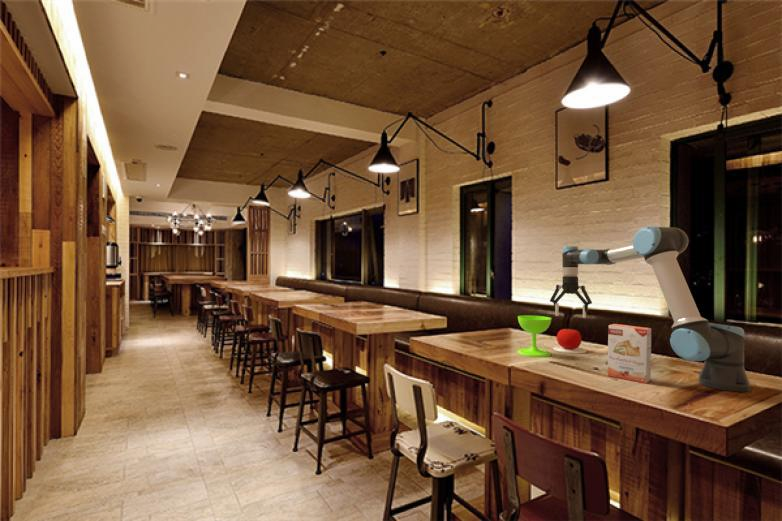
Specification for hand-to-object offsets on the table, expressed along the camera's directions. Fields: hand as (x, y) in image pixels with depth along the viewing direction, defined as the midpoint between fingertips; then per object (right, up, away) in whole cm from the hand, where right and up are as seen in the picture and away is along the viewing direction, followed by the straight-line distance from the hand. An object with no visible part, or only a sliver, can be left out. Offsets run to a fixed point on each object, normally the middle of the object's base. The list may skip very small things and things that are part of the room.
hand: (570, 316), depth 214 cm
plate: (0, -18, 0) cm, 18 cm away
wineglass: (-22, -18, -8) cm, 29 cm away
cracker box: (+1, -18, -51) cm, 54 cm away
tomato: (-1, -17, +1) cm, 17 cm away
